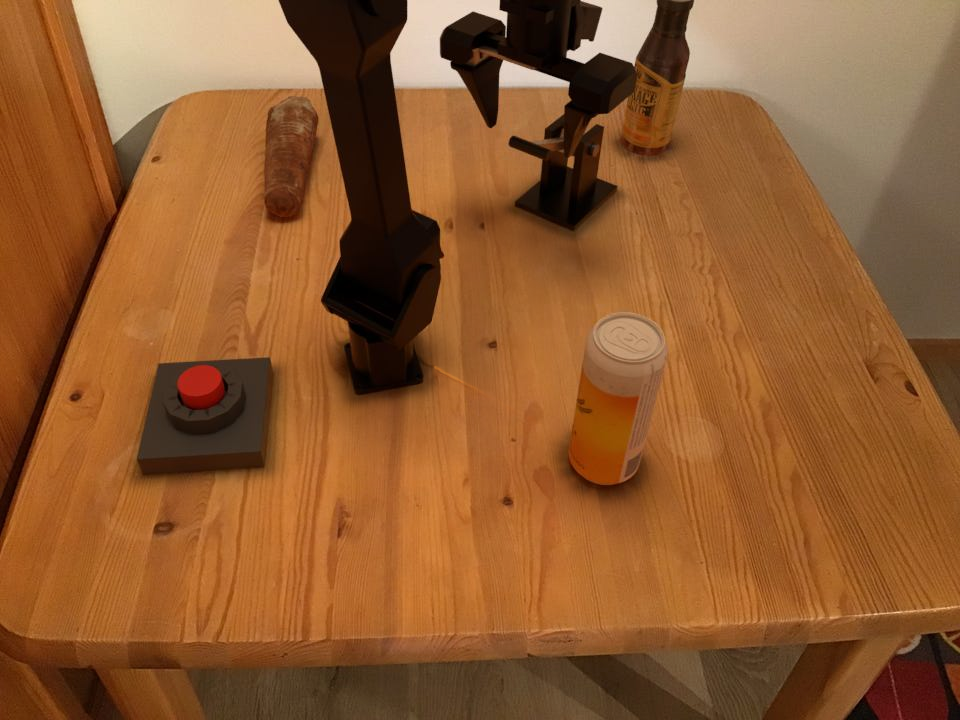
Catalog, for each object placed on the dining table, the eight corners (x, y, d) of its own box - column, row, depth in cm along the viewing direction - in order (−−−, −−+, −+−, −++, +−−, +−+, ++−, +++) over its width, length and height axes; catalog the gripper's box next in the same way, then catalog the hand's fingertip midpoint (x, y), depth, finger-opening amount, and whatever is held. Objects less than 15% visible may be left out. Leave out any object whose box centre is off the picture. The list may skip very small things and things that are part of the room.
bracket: (573, 235, 95) (583, 159, 88) (514, 209, 98) (519, 134, 91) (616, 194, 101) (628, 120, 94) (559, 171, 104) (567, 98, 97)
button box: (264, 467, 72) (257, 437, 69) (143, 475, 71) (130, 445, 68) (273, 373, 79) (267, 343, 76) (164, 379, 78) (153, 349, 76)
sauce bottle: (610, 139, 110) (634, -17, 96) (651, 129, 112) (680, -25, 98) (637, 165, 106) (667, 6, 92) (679, 154, 108) (714, -3, 93)
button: (222, 408, 71) (218, 394, 70) (178, 411, 71) (174, 397, 70) (227, 377, 74) (223, 363, 73) (185, 380, 74) (180, 365, 72)
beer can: (593, 423, 76) (616, 297, 65) (651, 458, 73) (686, 333, 63) (553, 464, 73) (571, 339, 62) (613, 502, 70) (642, 378, 59)
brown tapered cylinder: (321, 133, 109) (316, 93, 105) (306, 223, 96) (300, 181, 92) (272, 133, 109) (265, 93, 105) (249, 223, 95) (241, 181, 91)
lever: (542, 167, 85) (549, 144, 84) (505, 152, 87) (511, 129, 86) (592, 158, 95) (599, 137, 94) (558, 145, 97) (564, 124, 96)
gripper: (678, -19, 75) (649, 136, 87) (504, -67, 83) (498, 82, 94) (618, 24, 69) (594, 186, 80) (435, -32, 76) (437, 124, 87)
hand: (529, 140), depth 85 cm, fingers open, 9 cm apart
